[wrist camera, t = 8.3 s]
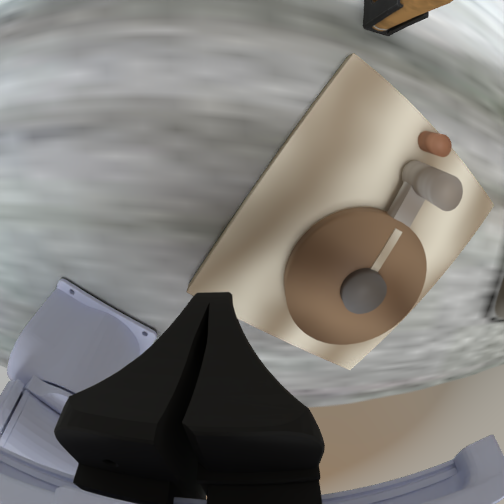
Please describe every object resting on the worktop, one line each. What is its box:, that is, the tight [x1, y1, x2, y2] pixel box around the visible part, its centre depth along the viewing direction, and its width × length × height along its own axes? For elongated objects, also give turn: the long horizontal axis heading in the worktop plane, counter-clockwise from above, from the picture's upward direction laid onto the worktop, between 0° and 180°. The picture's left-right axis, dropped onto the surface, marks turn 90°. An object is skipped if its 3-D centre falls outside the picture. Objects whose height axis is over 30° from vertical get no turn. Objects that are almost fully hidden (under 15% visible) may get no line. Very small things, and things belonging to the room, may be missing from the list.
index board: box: [187, 53, 494, 370], centre depth 19 cm, size 16×19×3 cm
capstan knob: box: [284, 160, 463, 345], centre depth 18 cm, size 14×10×4 cm
